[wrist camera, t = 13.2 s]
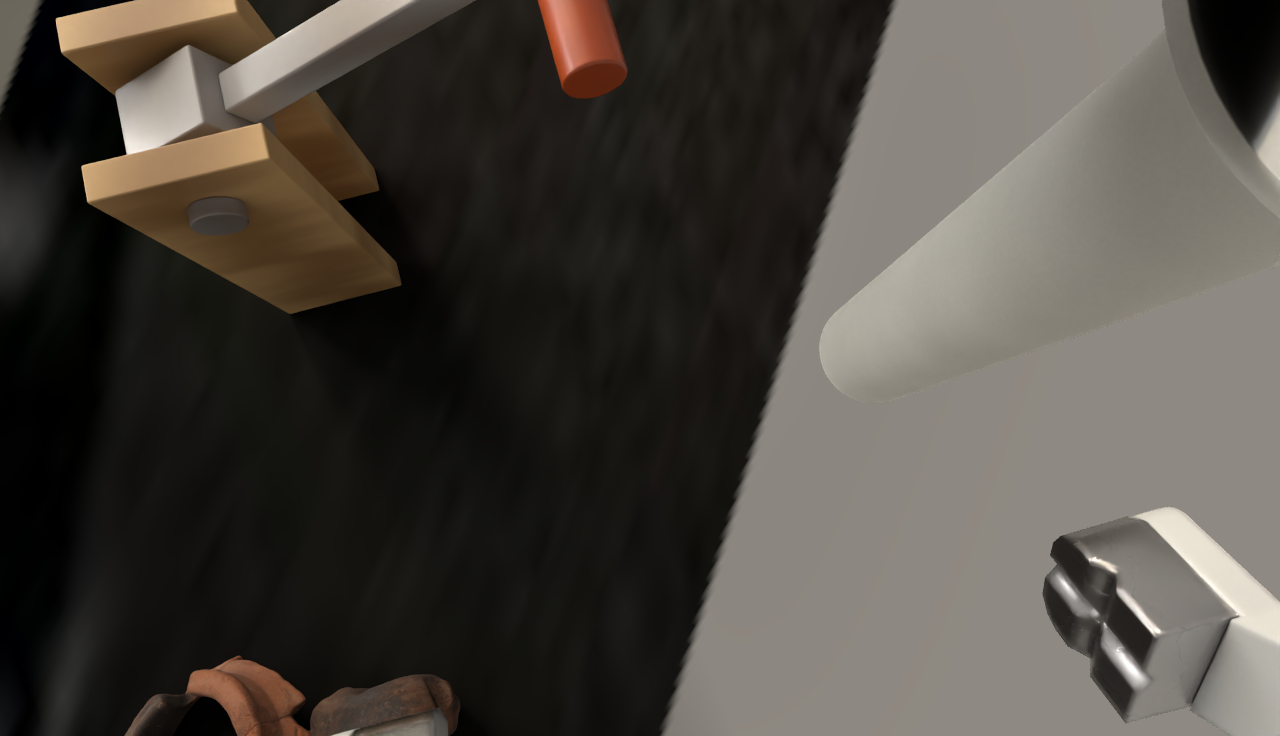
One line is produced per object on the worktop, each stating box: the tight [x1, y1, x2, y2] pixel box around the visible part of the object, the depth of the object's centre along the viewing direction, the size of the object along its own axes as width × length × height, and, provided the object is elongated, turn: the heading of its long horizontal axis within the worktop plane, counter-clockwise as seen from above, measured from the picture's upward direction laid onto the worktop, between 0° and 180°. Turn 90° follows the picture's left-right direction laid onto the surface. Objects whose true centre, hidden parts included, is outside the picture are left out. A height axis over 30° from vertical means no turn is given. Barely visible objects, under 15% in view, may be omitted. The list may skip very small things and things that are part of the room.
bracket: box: [56, 0, 401, 314], centre depth 26 cm, size 12×9×14 cm
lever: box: [115, 0, 627, 155], centre depth 19 cm, size 13×8×2 cm, turn 105°
